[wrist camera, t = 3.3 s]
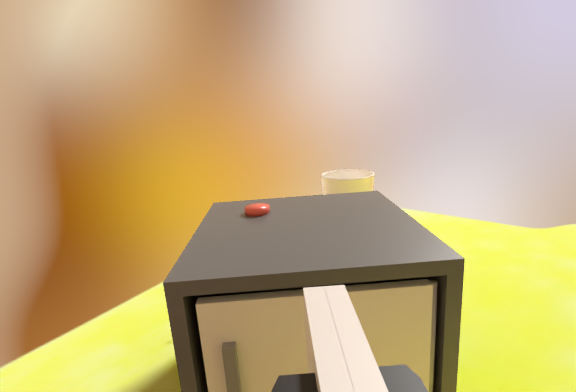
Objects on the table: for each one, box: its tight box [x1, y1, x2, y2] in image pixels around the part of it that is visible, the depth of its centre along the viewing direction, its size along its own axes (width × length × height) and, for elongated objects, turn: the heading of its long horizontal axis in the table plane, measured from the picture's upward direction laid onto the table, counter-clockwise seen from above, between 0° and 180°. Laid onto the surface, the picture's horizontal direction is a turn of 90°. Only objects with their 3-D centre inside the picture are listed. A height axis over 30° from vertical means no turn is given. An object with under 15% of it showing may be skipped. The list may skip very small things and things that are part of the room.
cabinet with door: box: [163, 191, 464, 392], centre depth 31 cm, size 20×18×16 cm
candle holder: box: [321, 169, 375, 195], centre depth 66 cm, size 10×10×12 cm
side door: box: [195, 279, 438, 392], centre depth 23 cm, size 15×1×12 cm, turn 92°
